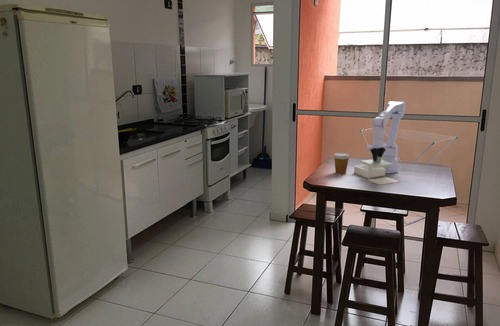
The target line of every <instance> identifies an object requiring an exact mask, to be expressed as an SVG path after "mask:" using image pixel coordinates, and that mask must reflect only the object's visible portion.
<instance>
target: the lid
mask: <svg viewBox="0 0 500 326" xmlns="http://www.w3.org/2000/svg"><path fill="white" fill-rule="evenodd" d="M360 163H362V164H363V165H368V166H371V167H373V168H381V167H389V166H390V165H393V164H392V163H389V162H386V161H383V160H382V158H381V157H380V156H377V160H376V161H373V158H372V159H364V160H363V159H362V160H360Z"/></svg>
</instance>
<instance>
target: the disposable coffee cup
mask: <svg viewBox="0 0 500 326" xmlns="http://www.w3.org/2000/svg"><path fill="white" fill-rule="evenodd" d="M349 158H350V155H349V153H347V152H346V153H345V152H335V153H334V154H333V159H334V169H335V174H336V175H346V174H347V169H348V164H349Z"/></svg>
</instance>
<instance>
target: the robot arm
mask: <svg viewBox="0 0 500 326" xmlns="http://www.w3.org/2000/svg"><path fill="white" fill-rule="evenodd" d="M406 109H407V104H406V102H405V101H391V100H389V101H388V103H387V105H386V109H385V110H383V111H381V112H380V114H379V115H378V116H377V117H374V118H373V120H372V125H373V127H372V128H373V129H372V130H373V140H372V141H373V143H372V144H370V145H366V150H369V151H370V154H371V156H372V159H373V161H376V160H377V156H380V157H381V160H383V161H386V162H389V163H392V164H393V165H390V166H389V167H382V168H385V169H386V170H385V174H394V173H399V160H398V158H397V157H398V156H399V146H398V145H397V144H396V141H397V136H398V133H399V132H398V131H399V128H400V125H401V124H400V123H401V120H402V118H403V117H404V116H405V114H406ZM391 117H392V119H391ZM390 119H391V122H390V123H391V124H390V126H389V127H390V128H389V131H388V135H387V140H386V142H384V139H385V128H386V126H387V124H388V121H389V120H390Z"/></svg>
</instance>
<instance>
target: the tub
mask: <svg viewBox="0 0 500 326" xmlns="http://www.w3.org/2000/svg"><path fill="white" fill-rule="evenodd" d="M353 169H354V170H353V173H354V174H355V175H358V176H360V177H364V178H365V179H375V178H383V177H386V173H385V170H386V169H385V168H382V167H381V168H373V167H371V166H368V165H365V164H363V165H361V164H360V165H354V168H353Z"/></svg>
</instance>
